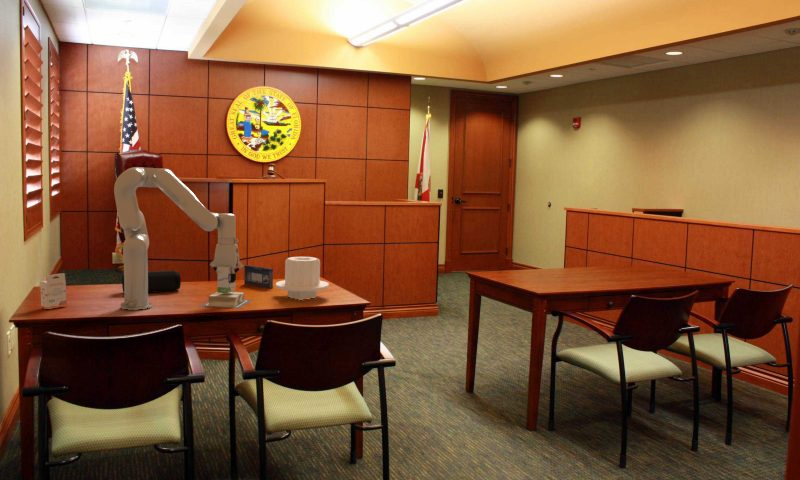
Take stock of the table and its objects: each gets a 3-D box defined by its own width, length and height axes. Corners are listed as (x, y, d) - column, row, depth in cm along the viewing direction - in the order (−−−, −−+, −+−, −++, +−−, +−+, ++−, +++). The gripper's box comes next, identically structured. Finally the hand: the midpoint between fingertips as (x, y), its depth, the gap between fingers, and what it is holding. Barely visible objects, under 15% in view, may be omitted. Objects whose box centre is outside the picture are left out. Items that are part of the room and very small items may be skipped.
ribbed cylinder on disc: (265, 296, 322) (265, 257, 320) (305, 290, 341) (306, 253, 338) (297, 305, 306) (298, 264, 303) (339, 298, 324) (340, 259, 322)
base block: (235, 306, 295) (235, 297, 294) (208, 305, 296) (208, 296, 295) (244, 301, 306) (244, 292, 306) (218, 299, 308) (218, 291, 307)
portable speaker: (177, 288, 336) (177, 268, 335) (181, 292, 327) (181, 271, 326) (122, 291, 323) (121, 271, 322) (124, 295, 315) (124, 274, 314)
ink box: (225, 289, 305) (225, 263, 304) (236, 290, 304) (235, 264, 303) (216, 293, 297) (216, 266, 295) (227, 293, 296) (227, 267, 294)
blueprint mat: (239, 310, 291) (239, 308, 291) (199, 308, 293) (199, 305, 293) (252, 302, 309) (252, 299, 309) (214, 300, 311) (214, 297, 311)
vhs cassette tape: (243, 284, 353) (244, 265, 352) (248, 283, 355) (248, 264, 354) (268, 289, 342) (269, 269, 341) (273, 288, 345) (273, 268, 344)
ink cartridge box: (60, 305, 290) (59, 271, 289) (66, 307, 288) (66, 272, 286) (40, 308, 283) (39, 274, 281) (47, 310, 281) (46, 275, 279)
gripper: (248, 241, 301) (247, 281, 303) (211, 239, 302) (211, 279, 305) (242, 243, 293) (242, 284, 295) (204, 241, 295) (204, 282, 297)
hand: (226, 281), depth 300 cm, fingers open, 5 cm apart
